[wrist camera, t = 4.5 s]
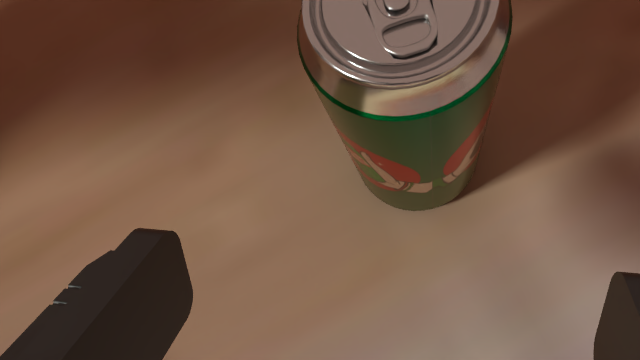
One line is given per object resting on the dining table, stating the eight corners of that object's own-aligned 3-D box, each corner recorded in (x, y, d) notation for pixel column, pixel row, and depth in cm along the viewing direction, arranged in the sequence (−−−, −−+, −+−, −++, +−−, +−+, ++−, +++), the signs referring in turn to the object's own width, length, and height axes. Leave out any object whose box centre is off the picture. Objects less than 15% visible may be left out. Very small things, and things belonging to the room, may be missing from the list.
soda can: (455, 89, 23) (476, -135, 12) (492, 195, 21) (556, 57, 10) (346, 121, 24) (265, -59, 12) (375, 227, 22) (311, 132, 11)
